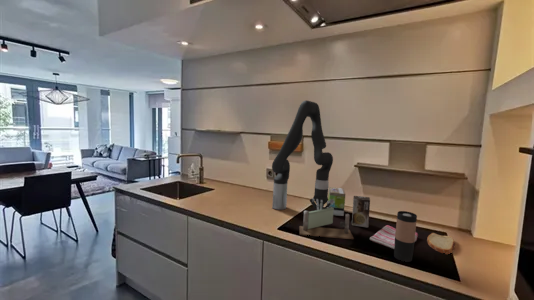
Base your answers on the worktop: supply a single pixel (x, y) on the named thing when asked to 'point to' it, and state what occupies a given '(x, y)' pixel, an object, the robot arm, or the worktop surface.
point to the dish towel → (386, 236)
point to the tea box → (337, 200)
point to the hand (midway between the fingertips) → (319, 216)
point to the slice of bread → (441, 243)
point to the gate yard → (326, 229)
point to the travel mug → (405, 236)
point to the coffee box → (361, 211)
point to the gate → (320, 217)
